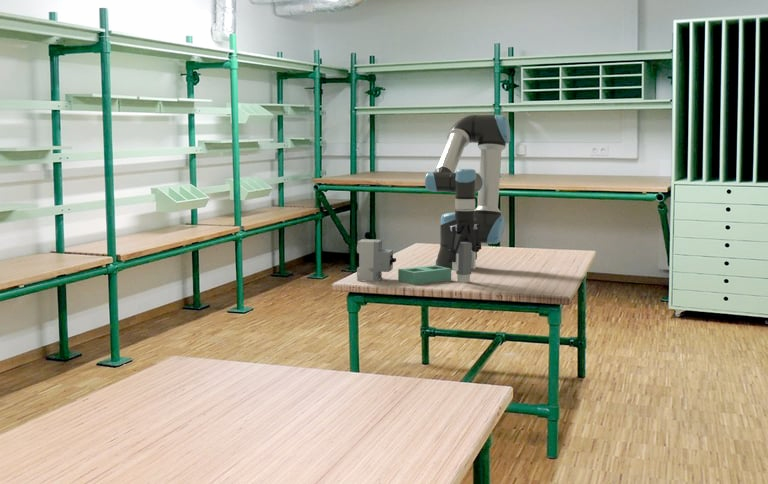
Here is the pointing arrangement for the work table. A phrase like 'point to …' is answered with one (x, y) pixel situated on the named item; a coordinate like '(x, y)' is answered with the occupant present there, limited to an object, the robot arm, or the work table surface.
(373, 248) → the circuit breaker
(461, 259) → the plug
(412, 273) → the box
